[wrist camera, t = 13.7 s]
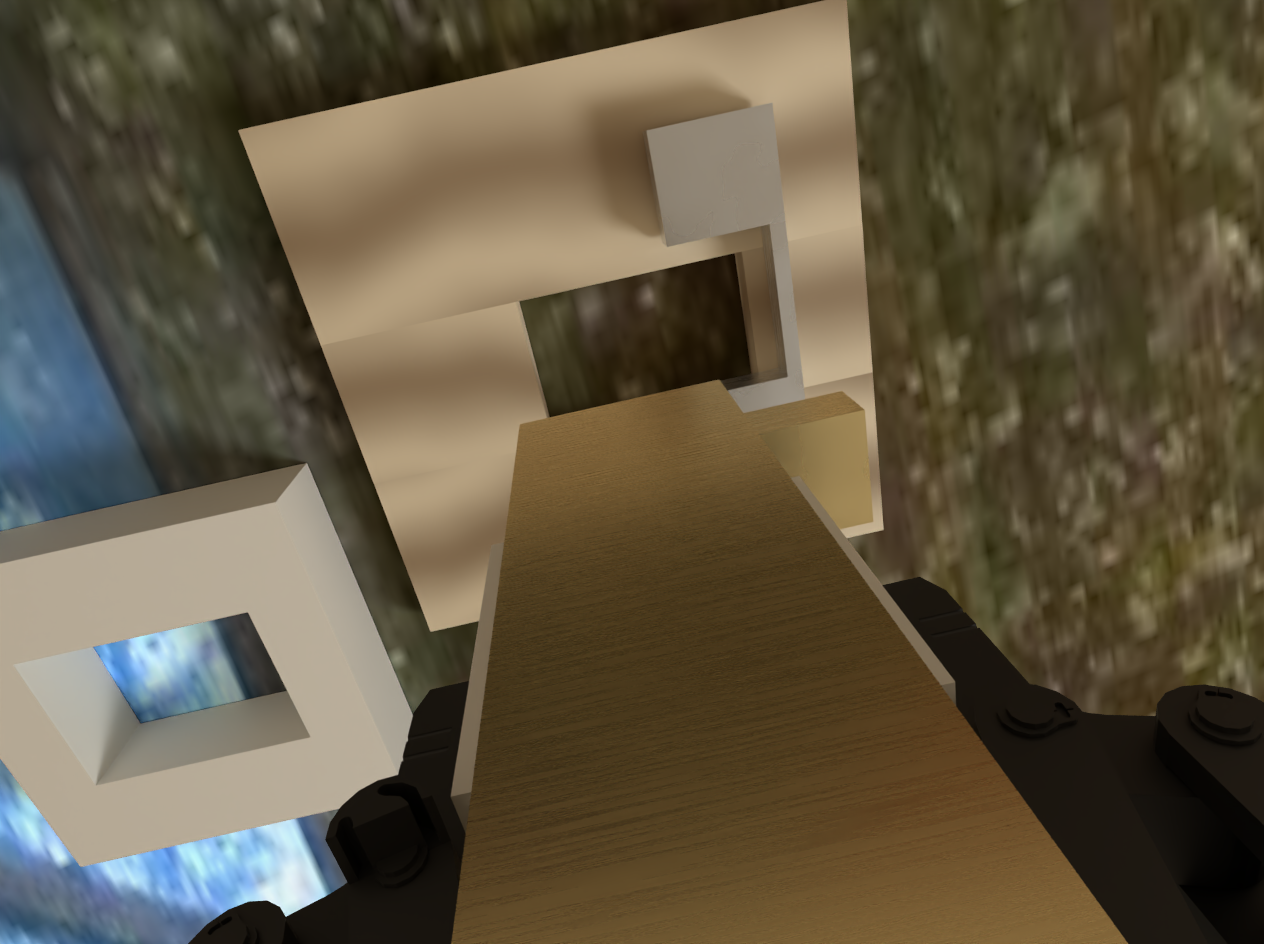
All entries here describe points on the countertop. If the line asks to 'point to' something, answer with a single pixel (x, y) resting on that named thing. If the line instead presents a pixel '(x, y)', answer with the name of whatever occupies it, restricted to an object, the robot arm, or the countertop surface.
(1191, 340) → the countertop surface
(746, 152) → the steel key
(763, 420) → the brass peg
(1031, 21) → the countertop surface
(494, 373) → the socket plate
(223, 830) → the block
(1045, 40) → the countertop surface
